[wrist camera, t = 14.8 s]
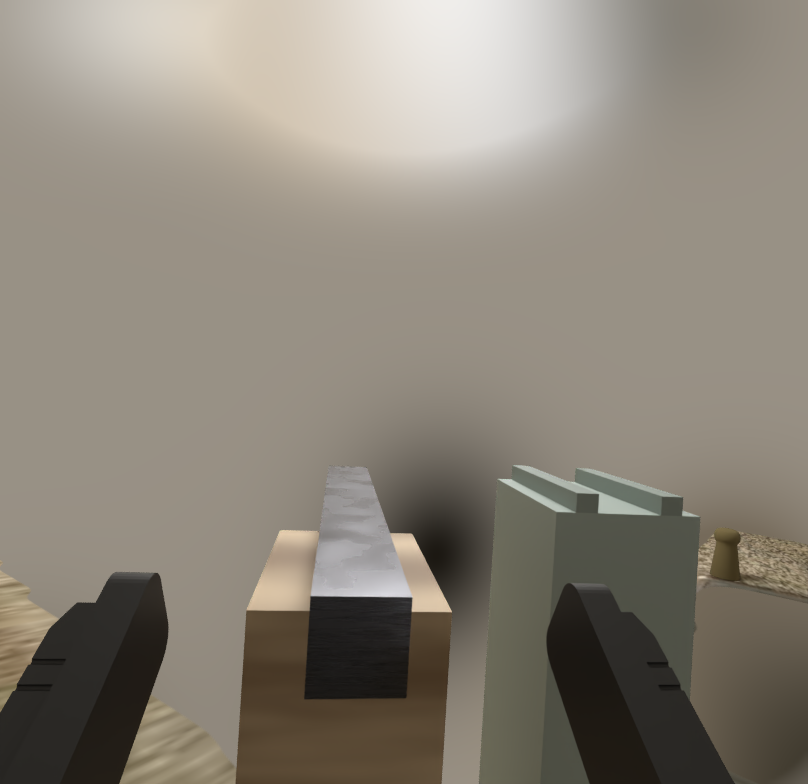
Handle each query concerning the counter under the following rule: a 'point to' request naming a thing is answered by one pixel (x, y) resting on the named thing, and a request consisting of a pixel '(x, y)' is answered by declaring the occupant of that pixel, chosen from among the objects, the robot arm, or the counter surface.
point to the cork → (726, 555)
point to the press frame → (540, 591)
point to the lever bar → (357, 598)
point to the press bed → (338, 718)
